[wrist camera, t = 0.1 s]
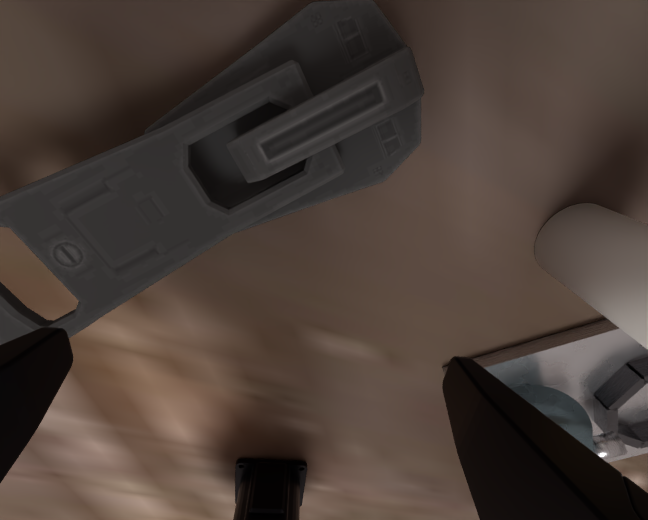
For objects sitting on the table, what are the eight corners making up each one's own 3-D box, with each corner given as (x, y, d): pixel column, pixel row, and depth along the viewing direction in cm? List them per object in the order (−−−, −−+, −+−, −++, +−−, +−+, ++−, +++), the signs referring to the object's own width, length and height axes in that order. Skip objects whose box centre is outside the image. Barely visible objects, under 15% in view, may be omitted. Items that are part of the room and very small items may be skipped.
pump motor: (475, 481, 35) (513, 570, 28) (442, 367, 28) (481, 450, 22) (737, 415, 32) (846, 499, 25) (770, 270, 25) (931, 333, 18)
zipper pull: (-136, 239, 15) (407, -86, 11) (-9, 197, 21) (373, -24, 17) (25, 377, 19) (478, 171, 15) (94, 307, 25) (430, 148, 21)
